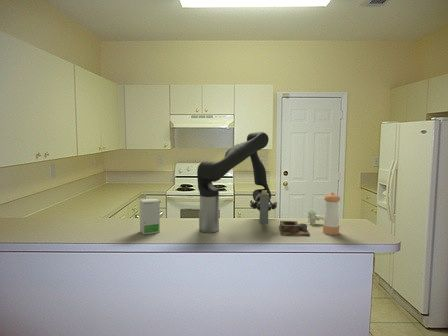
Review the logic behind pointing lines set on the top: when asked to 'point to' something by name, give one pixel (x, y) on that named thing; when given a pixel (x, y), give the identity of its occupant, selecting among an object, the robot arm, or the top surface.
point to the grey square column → (264, 207)
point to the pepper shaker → (331, 215)
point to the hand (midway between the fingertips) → (264, 208)
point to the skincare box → (149, 216)
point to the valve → (313, 217)
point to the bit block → (293, 228)
